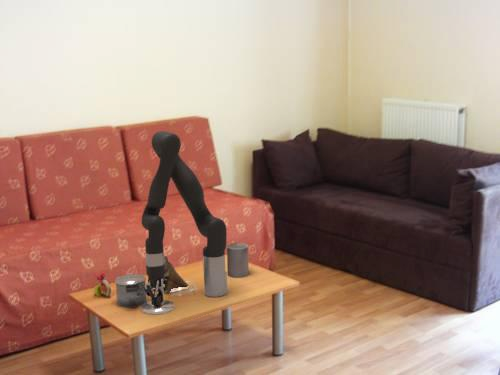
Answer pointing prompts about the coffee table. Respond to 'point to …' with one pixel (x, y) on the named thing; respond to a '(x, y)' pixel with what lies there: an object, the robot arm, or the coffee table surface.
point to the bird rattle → (102, 286)
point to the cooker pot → (130, 290)
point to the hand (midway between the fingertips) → (157, 303)
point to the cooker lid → (158, 306)
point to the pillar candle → (237, 260)
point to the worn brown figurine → (173, 277)
